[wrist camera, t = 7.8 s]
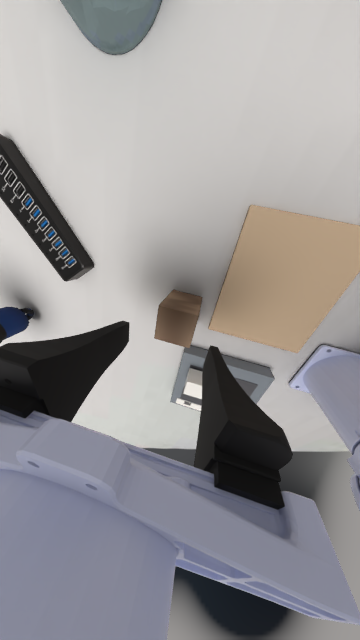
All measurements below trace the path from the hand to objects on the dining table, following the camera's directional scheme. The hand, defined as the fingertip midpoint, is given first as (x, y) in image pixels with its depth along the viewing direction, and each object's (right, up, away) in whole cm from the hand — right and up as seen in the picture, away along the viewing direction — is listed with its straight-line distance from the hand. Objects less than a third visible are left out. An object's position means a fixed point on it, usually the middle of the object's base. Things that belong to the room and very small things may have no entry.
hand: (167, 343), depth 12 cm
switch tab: (+4, -7, +10) cm, 12 cm away
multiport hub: (-16, +15, +7) cm, 23 cm away
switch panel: (+7, -9, +13) cm, 17 cm away
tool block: (+2, +4, +8) cm, 9 cm away
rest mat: (+12, +6, +4) cm, 14 cm away
